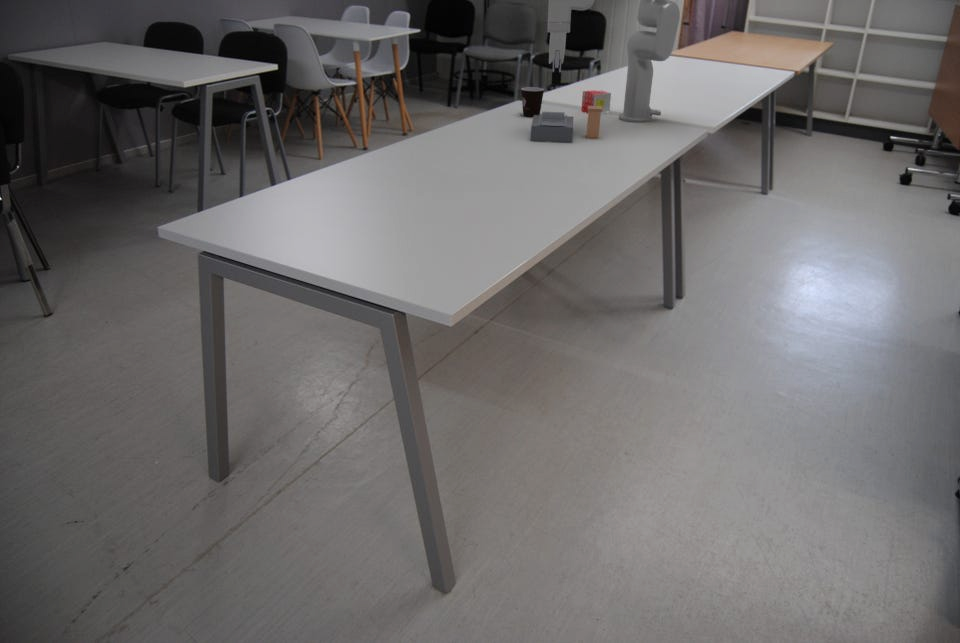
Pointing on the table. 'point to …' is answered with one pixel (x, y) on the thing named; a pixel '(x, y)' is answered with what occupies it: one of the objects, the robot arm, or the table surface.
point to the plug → (593, 121)
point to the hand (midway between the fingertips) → (556, 84)
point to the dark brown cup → (531, 101)
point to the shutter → (553, 118)
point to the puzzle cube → (596, 100)
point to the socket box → (552, 130)
